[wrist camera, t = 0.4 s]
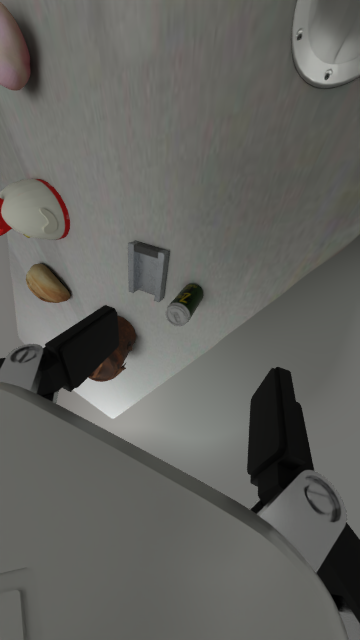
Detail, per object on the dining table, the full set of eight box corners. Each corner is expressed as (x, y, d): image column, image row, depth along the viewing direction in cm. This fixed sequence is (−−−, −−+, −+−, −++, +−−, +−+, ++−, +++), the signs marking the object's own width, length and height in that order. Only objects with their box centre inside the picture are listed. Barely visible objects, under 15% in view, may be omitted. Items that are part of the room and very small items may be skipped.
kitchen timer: (34, 227, 54) (-27, 235, 43) (22, 171, 46) (-59, 162, 34) (72, 245, 53) (18, 259, 41) (67, 191, 44) (-3, 189, 33)
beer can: (206, 299, 46) (192, 325, 37) (188, 303, 49) (170, 328, 39) (199, 280, 44) (182, 302, 35) (181, 285, 47) (160, 307, 37)
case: (122, 355, 74) (90, 391, 60) (91, 315, 68) (47, 345, 54) (153, 347, 64) (124, 388, 50) (120, 300, 58) (76, 331, 44)
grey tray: (135, 240, 44) (128, 243, 42) (169, 250, 43) (164, 254, 40) (134, 287, 52) (128, 291, 50) (164, 297, 51) (159, 302, 48)
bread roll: (68, 303, 69) (49, 314, 63) (37, 272, 66) (14, 280, 60) (77, 290, 63) (56, 300, 57) (42, 256, 60) (17, 262, 54)
